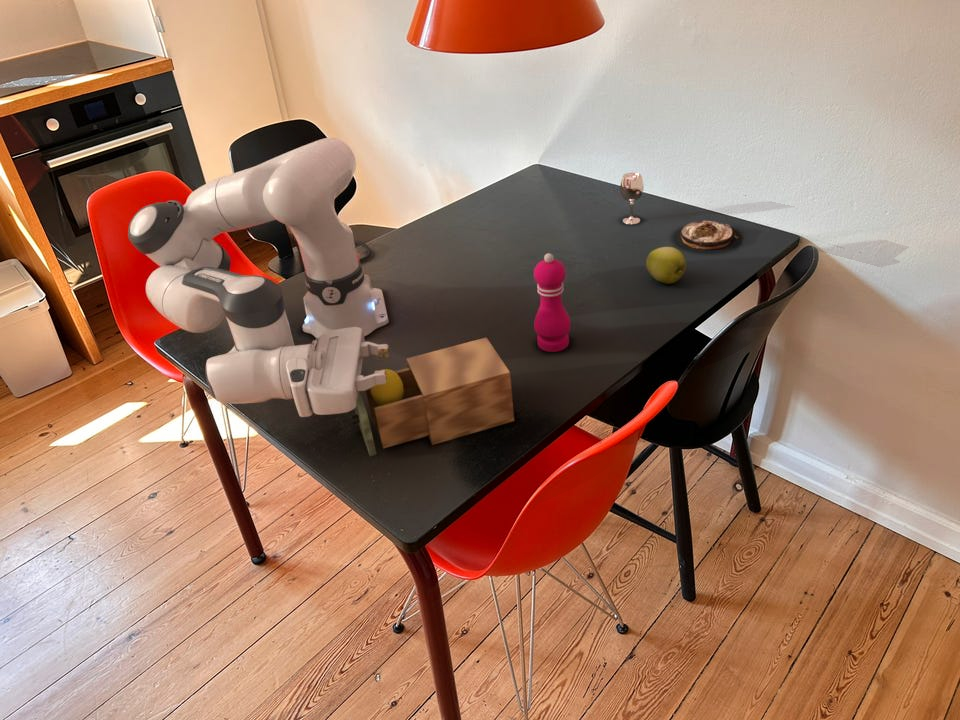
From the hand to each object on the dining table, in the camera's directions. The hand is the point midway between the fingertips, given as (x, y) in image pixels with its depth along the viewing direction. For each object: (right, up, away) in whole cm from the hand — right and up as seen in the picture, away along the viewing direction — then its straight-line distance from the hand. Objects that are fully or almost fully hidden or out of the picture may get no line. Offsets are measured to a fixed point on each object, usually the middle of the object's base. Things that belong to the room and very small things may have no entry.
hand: (387, 363), depth 127 cm
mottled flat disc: (+70, +29, +58) cm, 96 cm away
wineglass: (+54, +36, +70) cm, 96 cm away
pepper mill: (+30, +4, +27) cm, 40 cm away
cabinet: (+12, -9, +11) cm, 19 cm away
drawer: (+1, -11, +8) cm, 14 cm away
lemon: (0, -8, +5) cm, 9 cm away
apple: (+57, +18, +43) cm, 73 cm away
